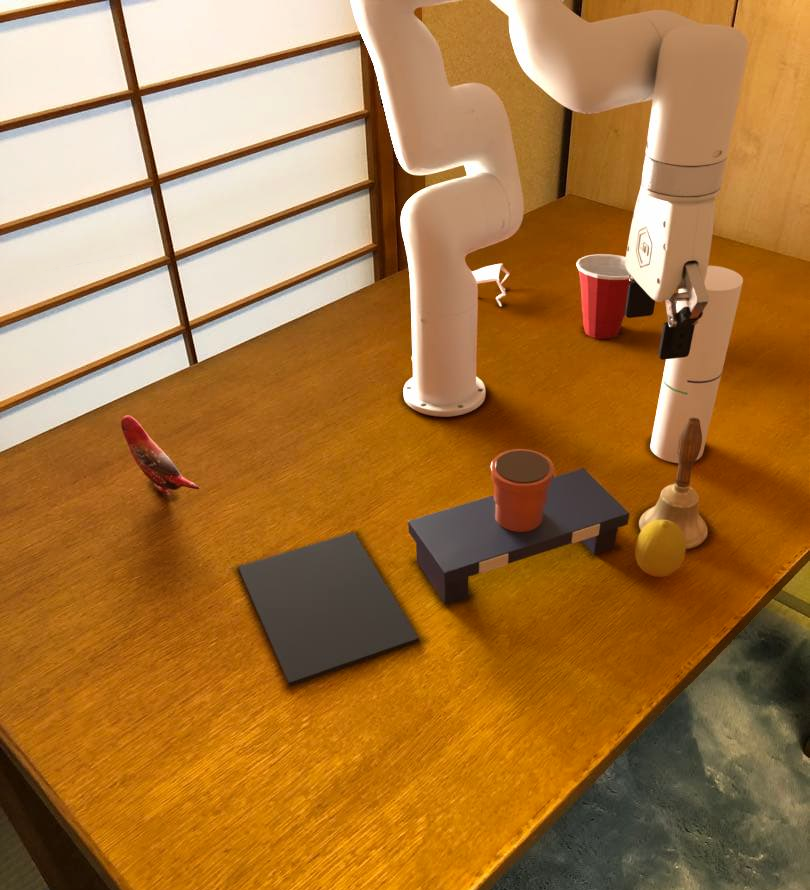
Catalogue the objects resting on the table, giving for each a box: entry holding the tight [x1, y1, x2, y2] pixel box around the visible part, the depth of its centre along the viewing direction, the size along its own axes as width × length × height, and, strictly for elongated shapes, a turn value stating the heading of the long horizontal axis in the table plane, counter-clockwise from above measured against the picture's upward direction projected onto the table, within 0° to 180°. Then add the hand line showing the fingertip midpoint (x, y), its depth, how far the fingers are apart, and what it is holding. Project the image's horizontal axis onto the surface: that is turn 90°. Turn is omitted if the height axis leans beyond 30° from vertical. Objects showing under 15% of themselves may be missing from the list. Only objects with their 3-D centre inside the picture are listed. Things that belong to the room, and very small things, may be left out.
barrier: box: [407, 467, 630, 605], centre depth 104 cm, size 10×24×6 cm, turn 114°
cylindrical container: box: [649, 265, 744, 464], centre depth 114 cm, size 7×7×25 cm
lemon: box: [634, 520, 687, 578], centre depth 101 cm, size 6×6×8 cm
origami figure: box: [471, 263, 511, 307], centre depth 158 cm, size 12×8×5 cm
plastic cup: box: [575, 253, 633, 340], centre depth 145 cm, size 11×11×12 cm
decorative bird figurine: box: [120, 415, 200, 498], centre depth 114 cm, size 3×18×10 cm, turn 45°
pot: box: [490, 448, 555, 532], centre depth 100 cm, size 7×7×7 cm
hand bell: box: [638, 418, 709, 550], centre depth 104 cm, size 8×8×16 cm
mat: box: [237, 531, 420, 687], centre depth 101 cm, size 20×15×1 cm
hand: (655, 335), depth 96 cm, fingers open, 9 cm apart
